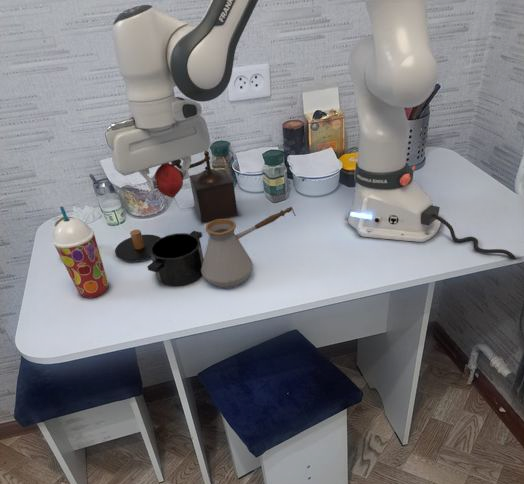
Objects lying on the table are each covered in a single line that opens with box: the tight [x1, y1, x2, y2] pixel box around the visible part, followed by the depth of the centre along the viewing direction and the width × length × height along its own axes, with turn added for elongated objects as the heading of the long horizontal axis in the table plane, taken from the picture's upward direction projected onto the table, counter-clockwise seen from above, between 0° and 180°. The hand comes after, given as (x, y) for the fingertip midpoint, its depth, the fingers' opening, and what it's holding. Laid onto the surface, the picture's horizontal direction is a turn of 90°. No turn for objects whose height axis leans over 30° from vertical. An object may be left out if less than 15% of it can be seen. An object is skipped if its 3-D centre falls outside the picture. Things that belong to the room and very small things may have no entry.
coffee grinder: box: [170, 150, 239, 224], centre depth 124 cm, size 16×11×18 cm
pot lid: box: [114, 229, 161, 262], centre depth 116 cm, size 12×12×5 cm
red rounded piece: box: [154, 162, 184, 199], centre depth 98 cm, size 6×6×8 cm
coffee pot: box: [201, 206, 296, 289], centre depth 100 cm, size 21×12×15 cm, turn 96°
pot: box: [147, 230, 204, 288], centre depth 106 cm, size 11×17×7 cm
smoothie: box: [51, 206, 109, 299], centre depth 99 cm, size 8×8×20 cm
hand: (169, 183), depth 99 cm, fingers closed on red rounded piece, 6 cm apart
